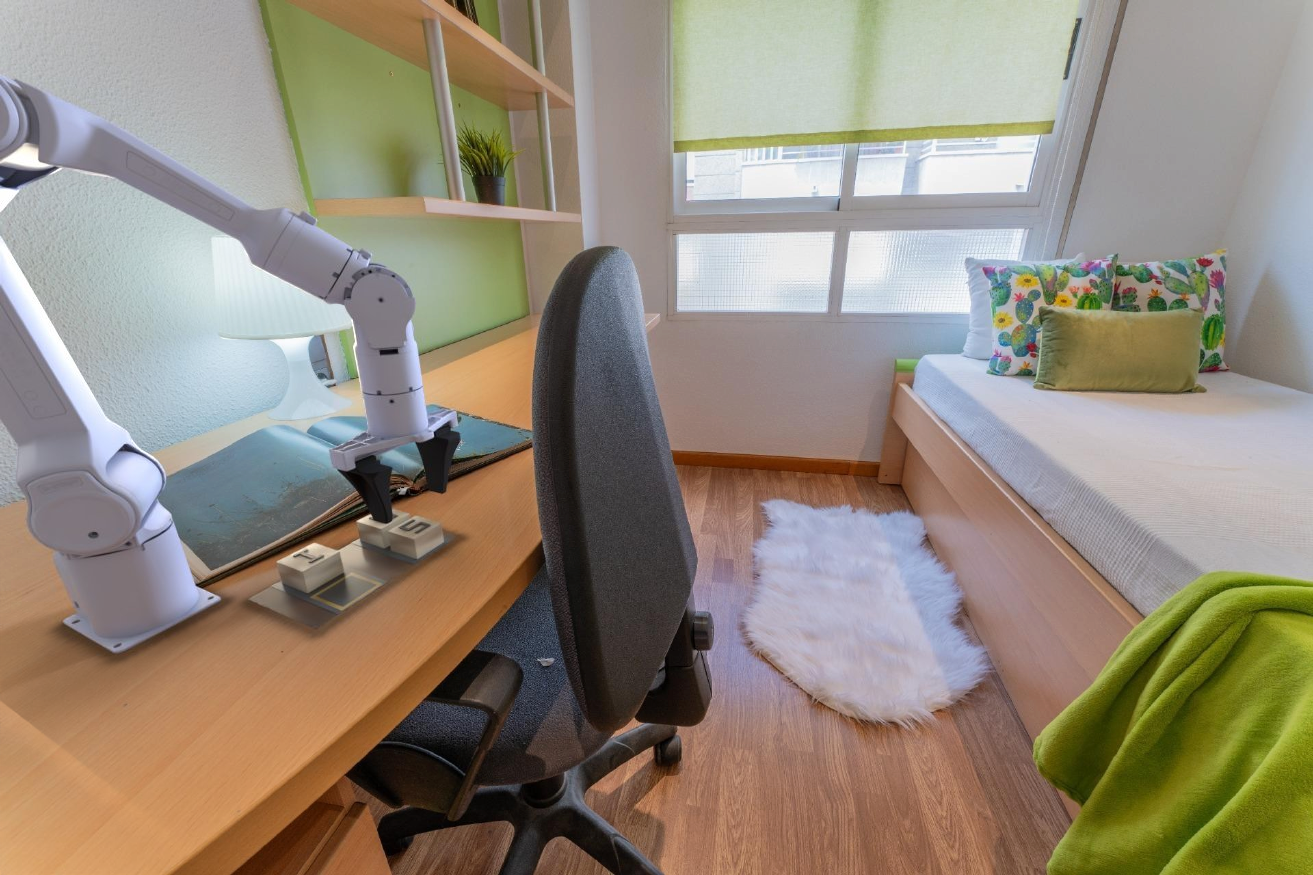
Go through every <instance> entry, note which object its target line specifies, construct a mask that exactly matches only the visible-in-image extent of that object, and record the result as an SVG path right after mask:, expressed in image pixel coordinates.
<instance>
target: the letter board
mask: <svg viewBox="0 0 1313 875" xmlns="http://www.w3.org/2000/svg"><path fill="white" fill-rule="evenodd" d="M442 531H443V538H444V542H443V543H442V544H440V545H439V546H437V547H436V548H434V549H432V550H431V551H429V552H428V553H426V554H425V555H423V556H422V557H420V558H419V559H415V558H412V557H409V556H406V555H403V554H399V553H396V552H393V551H391V547H390V546H388V547H387V548H385V549H384V548H381V547H378V546H375V545H372V544H369V543H366V542H363V541H360V537H359V538H357V539H355V540H354V541H352V542H350V544H347V545H345V546H344V547H342V548H340V549H338V550H337V551H340V555H341V559H342V564H343V568H344V573H342V574H340V575H339V576H337V577H335V578H333V579H332V580H330V581H328V582H327V583H325V584H323V585H322V586H320V587H318V588H316V589H315V590H313V591H311V592H310V593H305V592H303V591H300V590H298V589H295V588H293V587H291V586H288V585H286V584H283V583H282V581H281V580H279V581H277V582H276V583H274V584H272V585H270V587H268V588H266V589H264V590H262V591H260V592H258V593H256V594H255V595H253V596H251V597H249V598H248V599H247V600H248V601H251V602H253V603H255V604H257V605H260V606H262V607H264V608H267V609H269V610H271V611H273V612H275V613H278V614H280V615H281V616H285V617H287V618H289V619H291V620H293V621H296V622H298V623H301V624H303V625H305V626H308V627H310V628H311V629H314V630H317V629H319V628H320V627H322V626H323V625H325V624H327V623H328V622H329V621H331V620H333V619H335V618H336V617H337V616H339V615H340V614H342V613H344V612H345V611H347V610H348V609H350V608H351V607H353V606H354V605H356V604H357V603H359V602H361V601H362V600H363V599H365V598H367V597H368V596H370V595H371V594H373V593H374V592H376V591H378V590H379V589H380V588H382V587H383V586H385V585H387V584H388V583H389V582H391V581H392V580H394V579H395V578H397V577H399V576H400V575H401V574H403V573H404V572H406V571H408V570H409V569H411V568H412V567H414V566H415V565H417V564H418V563H420V562H421V561H423V560H425V559H426V558H428V557H429V556H431V555H433V553H435V552H437V551H438V550H439V549H441V548H443V547H445V546H446V545H447V544H449V543H451V542H452V541H454V540H455V539H456V538H458V537H460V534H457V533H453V532H449V531H446V530H443V529H442Z"/></svg>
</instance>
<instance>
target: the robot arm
mask: <svg viewBox="0 0 1313 875" xmlns="http://www.w3.org/2000/svg"><path fill="white" fill-rule="evenodd" d="M62 169H63V170H67V171H70V172H75V173H78V174H83V175H89V176H96V177H104V178H111V179H115V180H118V181H120V182H123V183H124V184H127V185H128V186H130V187H132V188H134V189H136V190H138V191H140V192H142V193H144V194H146V195H148V196H150V197H152V198H154V199H156V200H158V201H160V202H162V203H163V204H166V205H168V206H169V207H172V208H173V209H176V210H178V211H180V212H182V213H183V214H185V215H188V216H189V217H191V218H192V219H196V220H197V221H199V222H202V223H203V224H205V225H207V226H209V227H211V228H213V229H215V230H217V231H219V232H221V233H223V234H225V235H227V236H230V237H231V238H233V239H235V240H237V241H239V243H240V244H241V245H242V248H243V249H244V252H245V254H246V257H247V259H248V261H249V263H250V264H251V265H252V266H253V267H255V268H257V269H258V270H260V271H263V272H265V273H267V274H269V275H271V276H272V277H275V278H276V279H278V280H280V281H282V282H284V283H286V284H288V285H290V286H291V287H294V288H295V289H298V290H299V291H301V292H303V293H306V294H308V295H309V296H311V297H313V298H315V299H317V300H318V301H321V302H323V303H325V304H326V305H342V306H343V307H344V308H345V311H346V313H347V314H348V315H349V317H350V318H351V324H352V329H353V335H354V341H355V342H354V344H353V347H352V349H353V353H354V359H355V365H356V370H357V375H358V380H359V381H358V382H359V385H360V391H361V398H362V402H363V408H364V413H365V419H366V423H367V429H366V430H364V431H362V432H361V433H359V434H357V435H355V436H353V437H352V438H350V439H349V440H347V441H345V442H343V443H341V444H339V445H337V446H334V447H331V448H329V449H328V453H329V457H330V462H331V466H332V468H333V469H336V470H337V472H339V474H340V475H341V476H343V478H345V480H347V482H349V483H350V485H351V486H352V488H354V490H355V491H356V492H357V494H358V495H359V496H360V498H361V499H362V501H363V503H364V505H365V506H366V508H367V510H368V511H369V514H371V516H372V518H373V520H374V521H378V522H381V523H384V524H388V523H390V522H392V519H393V512H392V509H393V505H392V499H391V478H392V472H393V469H394V467H393V466H390V465H386V464H382V463H381V460H380V459H377V457H378V456H381V455H384V454H386V453H388V452H391V451H393V450H396V449H398V448H402V447H403V446H406V445H408V444H412V443H415V445H416V448H417V451H418V453H419V457H420V459H421V462H422V465H423V466H422V467H424V472H425V476H424V477H425V482H426V485H427V488H428V491H430V492H432V493H436V494H440V495H444V494H445V493H447V489H448V483H449V476H450V471H451V465H452V461H453V458H454V457H455V455H454V453H455V451H456V449H457V447H458V445H459V444H460V441H461V440H462V438H461V437H462V436H461V433H460V432H459V431H456V430H452V429H455V428H457V427H459V423H458V414H457V410H452V409H447V408H441V409H438V410H435V411H431V412H428V411H427V405H426V398H425V392H424V384H423V376H422V370H421V363H420V355H419V349H418V343H417V341H416V340H415V328H414V324H413V322H412V318H413V317H414V315H415V313H416V309H417V299H416V298H415V297H414V296H413V291H412V289H411V288H410V286H409V284H408V283H407V281H406V280H405V278H403V277H402V276H401V275H399V274H397V273H396V272H394V271H393V270H391V269H389V268H388V267H387V266H386V265H385V264H382V263H378V262H371V259H372V258H373V253H372V252H370V251H369V250H367V249H365V248H363V247H361V248H360V249H359V250H358V249H356V248H354V247H352V246H350V245H349V244H347V243H346V242H344V241H342V240H340V239H339V238H337V237H335V236H334V235H332V234H331V233H329V232H327V231H325V230H323V229H322V228H321V227H319V226H317V224H318V219H317V217H314V216H313V215H312V214H310V213H308V212H306V211H304V210H301V211H300V212H299V214H297V213H295V212H293V211H292V210H290V209H289V208H287V207H274V208H267V209H257V208H255V207H254V206H252V205H250V204H249V203H247V202H245V201H244V200H242V199H241V198H239V197H237V196H236V195H234V194H233V193H231V192H229V191H228V190H226V189H224V188H223V187H221V186H219V185H218V184H216V183H214V182H212V181H211V180H209V179H207V178H206V177H204V176H203V175H201V174H199V173H197V172H196V171H195V170H193V169H190V168H189V167H188V166H186V165H184V164H183V163H181V162H179V161H177V160H176V159H174V158H172V157H171V156H169V155H167V154H166V153H165V152H163V151H161V150H159V149H157V148H156V147H154V146H152V145H151V144H149V143H147V142H146V141H144V140H143V139H141V138H139V137H138V136H136V135H134V134H133V133H131V132H130V131H128V130H126V129H124V128H122V127H120V126H118V125H117V124H115V123H113V122H111V121H109V120H107V119H106V118H103V117H101V116H99V115H97V114H95V113H92V112H90V111H88V110H86V109H84V108H83V107H82V108H81V107H80V106H77V105H75V104H73V103H71V102H68V101H66V100H64V99H62V98H60V97H57V96H55V95H53V94H51V93H49V92H47V91H44V90H42V89H40V88H38V87H35V86H33V85H31V84H28V83H26V82H24V81H22V80H19V79H17V78H13V79H12V78H10V77H8V76H5V75H4V74H1V73H0V213H1V212H2V211H3V210H4V209H5V207H7V206H8V204H9V203H10V202H11V201H12V200H13V199H14V197H15V196H16V195H17V194H18V193H19V192H20V191H21V189H22V188H24V187H26V186H28V185H31V184H32V183H34V182H37V181H39V180H42V179H44V178H46V177H48V176H50V175H53V174H55V173H57V172H59V171H61V170H62ZM0 421H1V423H2V424H3V426H4V428H5V429H6V430H7V432H8V433H9V435H10V436H11V438H12V439H13V441H14V443H15V444H16V445H17V462H16V474H15V475H16V476H15V478H16V479H15V480H16V481H15V482H16V485H17V486H18V488H19V490H20V491H21V492H22V494H23V495H24V498H25V500H26V502H27V511H26V519H25V520H26V527H27V528H28V532H29V533H30V534H31V536H32V537H33V538H34V539H35V540H36V541H37V542H38V543H40V544H41V545H43V546H44V547H46V548H48V549H50V550H53V551H54V552H53V563H54V566H55V569H56V571H57V573H58V575H59V577H60V579H61V582H62V584H63V586H64V588H65V591H66V592H67V595H68V598H69V599H70V601H71V603H72V606H73V608H74V611H75V613H74V614H71V615H70V616H68V617H66V618H64V619H63V620H62V623H63V624H64V625H65V626H67V627H68V628H70V629H72V630H74V631H75V632H77V633H79V634H81V635H82V636H84V637H85V638H87V639H89V640H91V641H92V642H94V643H96V644H97V645H99V646H101V647H103V648H104V649H106V650H107V651H109V652H111V653H113V654H116V655H117V654H121V653H124V652H125V651H127V650H130V649H132V648H134V647H135V646H137V645H139V644H141V643H143V642H145V641H147V640H149V639H151V638H152V637H155V636H157V635H159V634H160V633H162V632H164V631H166V630H168V629H170V628H172V627H174V626H175V625H177V624H180V623H181V622H184V621H185V620H187V619H189V618H191V617H193V616H195V615H197V614H198V613H201V612H203V611H205V610H206V609H208V608H210V607H212V606H214V605H216V604H218V603H220V602H221V600H222V598H221V596H219V595H217V594H214V593H212V592H210V591H208V590H205V589H203V588H201V587H199V586H197V585H196V582H195V579H194V577H193V574H192V570H191V569H190V565H189V562H188V560H187V557H186V554H185V551H184V549H183V545H182V542H181V540H180V537H179V534H178V530H177V528H176V525H175V522H174V519H173V516H172V513H171V512H170V511H169V510H168V509H166V508H165V507H164V506H163V505H162V504H161V503H160V502H159V499H158V497H159V496H160V495H161V494H162V492H163V491H164V489H165V487H166V483H167V474H166V471H165V469H164V467H163V465H162V464H161V462H160V461H159V460H158V459H157V458H155V456H153V455H151V454H149V453H148V452H146V451H145V450H143V449H142V448H140V447H139V446H138V445H137V444H136V443H135V441H134V440H133V438H132V436H131V434H130V433H129V431H128V430H126V429H125V428H124V427H122V426H120V425H119V424H117V423H115V422H113V421H112V420H110V419H109V418H108V417H107V416H106V414H105V413H104V411H103V409H102V407H101V406H100V404H99V402H98V401H97V399H96V397H95V396H94V394H93V392H92V390H91V389H90V387H89V385H88V384H87V382H86V380H85V378H84V376H83V375H82V373H81V371H80V370H79V367H78V366H77V364H76V363H75V361H74V360H73V358H72V356H71V354H70V353H69V351H68V349H67V347H66V345H65V343H64V342H63V340H62V338H61V337H60V336H59V334H58V332H57V330H56V328H55V326H54V325H53V323H52V321H51V320H50V318H49V317H48V315H47V313H46V311H45V309H44V307H43V306H42V304H41V302H40V301H39V299H38V297H37V296H36V294H35V293H34V290H33V288H32V287H31V286H30V284H29V282H28V280H27V278H26V276H25V275H24V273H23V271H22V270H21V268H20V267H19V264H18V263H17V261H16V260H15V258H14V256H13V254H12V252H11V251H10V249H9V248H8V246H7V244H6V242H5V241H4V239H3V237H2V235H0Z"/></svg>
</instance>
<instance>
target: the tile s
mask: <svg viewBox="0 0 1313 875" xmlns="http://www.w3.org/2000/svg"><path fill="white" fill-rule="evenodd" d="M442 524H443V523H442V522H440V521H436V520H433V519H429V518H426V517H422V516H419V515H414V516H412V517H410V519H409V520H407V521H405V522H403V523H401V524H400V525H398V526H396V527H394V528H392V529H391V530H389V531H388V536H389V541H390V547H391V551H393V552H396V553H399V554H403V555H406V556H409V557H412V558H415V559H419V558H420V557H422V556H423V555H425V554H426V553H428V552H429V551H431V550H432V549H434V548H436V547H437V546H439V545H440V544H442V543H443V542H444V538H443V531H444V530H443V525H442ZM442 530H443V531H442Z"/></svg>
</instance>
